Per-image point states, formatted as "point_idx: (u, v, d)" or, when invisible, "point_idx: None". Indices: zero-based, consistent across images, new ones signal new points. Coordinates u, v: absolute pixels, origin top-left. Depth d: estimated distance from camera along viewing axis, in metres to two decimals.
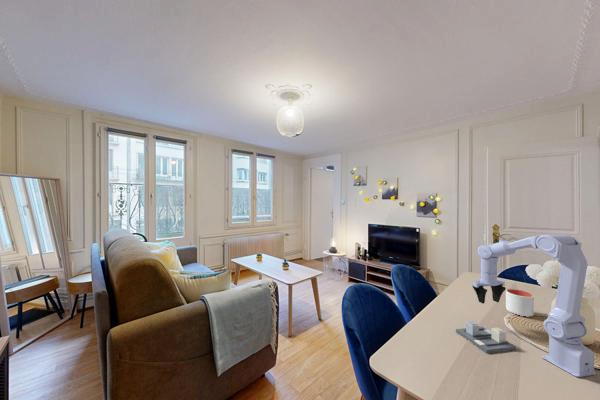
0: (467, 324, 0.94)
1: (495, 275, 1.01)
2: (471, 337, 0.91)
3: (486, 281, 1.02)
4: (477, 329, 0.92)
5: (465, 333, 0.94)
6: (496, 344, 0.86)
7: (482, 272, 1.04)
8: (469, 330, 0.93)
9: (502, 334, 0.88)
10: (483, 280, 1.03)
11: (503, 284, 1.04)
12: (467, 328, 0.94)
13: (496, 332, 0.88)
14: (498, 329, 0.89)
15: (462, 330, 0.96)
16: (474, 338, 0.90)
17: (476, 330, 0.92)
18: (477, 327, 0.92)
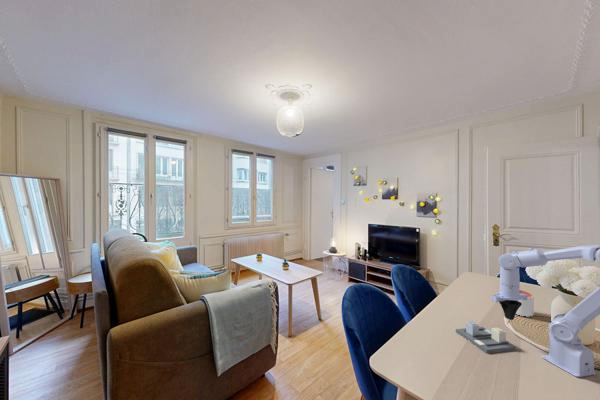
0: (467, 324, 0.94)
1: (517, 288, 0.87)
2: (471, 337, 0.91)
3: (507, 295, 0.88)
4: (477, 329, 0.92)
5: (465, 333, 0.94)
6: (496, 344, 0.86)
7: (502, 284, 0.90)
8: (469, 330, 0.93)
9: (502, 334, 0.88)
10: (503, 293, 0.89)
11: (526, 298, 0.90)
12: (467, 328, 0.94)
13: (496, 332, 0.88)
14: (498, 329, 0.89)
15: (462, 330, 0.96)
16: (474, 338, 0.90)
17: (476, 330, 0.92)
18: (477, 327, 0.92)
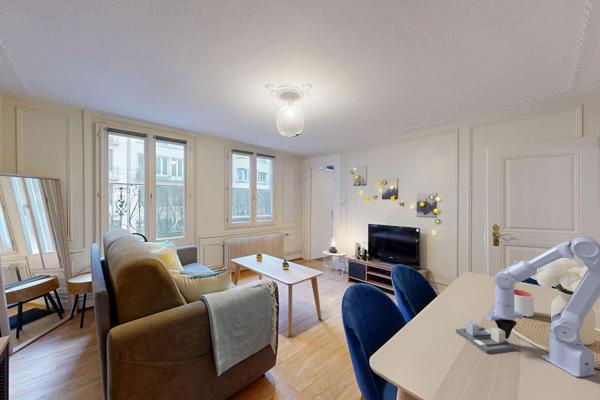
0: (467, 324, 0.94)
1: (512, 307, 0.87)
2: (471, 337, 0.91)
3: (502, 314, 0.88)
4: (477, 329, 0.92)
5: (465, 333, 0.94)
6: (496, 344, 0.86)
7: (497, 303, 0.90)
8: (469, 330, 0.93)
9: (501, 334, 0.88)
10: (498, 312, 0.89)
11: (521, 317, 0.90)
12: (467, 328, 0.94)
13: (495, 332, 0.88)
14: (497, 329, 0.89)
15: (462, 330, 0.96)
16: (474, 338, 0.90)
17: (476, 330, 0.92)
18: (477, 327, 0.92)
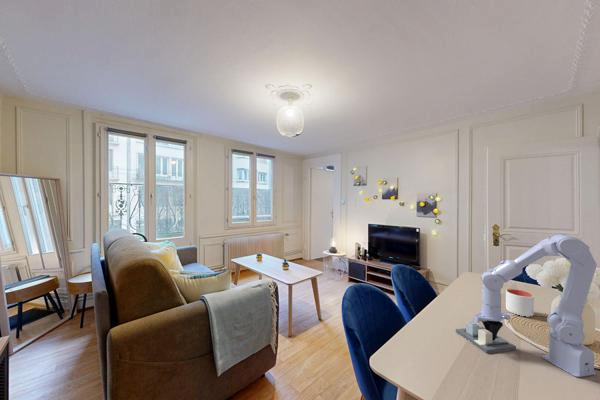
0: (467, 324, 0.94)
1: (499, 309, 0.86)
2: (471, 337, 0.91)
3: (488, 315, 0.87)
4: (477, 329, 0.92)
5: (465, 333, 0.94)
6: (496, 344, 0.86)
7: (484, 304, 0.89)
8: (469, 330, 0.93)
9: (488, 335, 0.87)
10: (485, 313, 0.88)
11: (508, 318, 0.89)
12: (467, 328, 0.94)
13: (482, 333, 0.87)
14: (485, 330, 0.88)
15: (462, 330, 0.96)
16: (474, 338, 0.90)
17: (476, 330, 0.92)
18: (477, 327, 0.92)
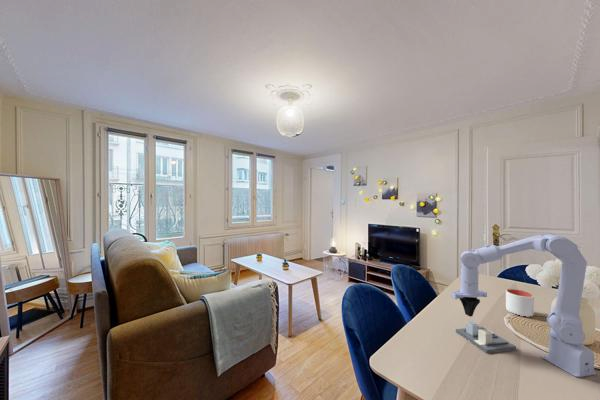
0: (467, 324, 0.94)
1: (476, 285, 0.89)
2: (471, 337, 0.91)
3: (466, 292, 0.90)
4: (477, 329, 0.92)
5: (465, 333, 0.94)
6: (496, 344, 0.86)
7: (462, 282, 0.92)
8: (469, 330, 0.93)
9: (489, 335, 0.87)
10: (463, 291, 0.91)
11: (485, 295, 0.92)
12: (467, 328, 0.94)
13: (483, 333, 0.87)
14: (485, 330, 0.88)
15: (462, 330, 0.96)
16: (474, 338, 0.90)
17: (476, 330, 0.92)
18: (477, 327, 0.92)
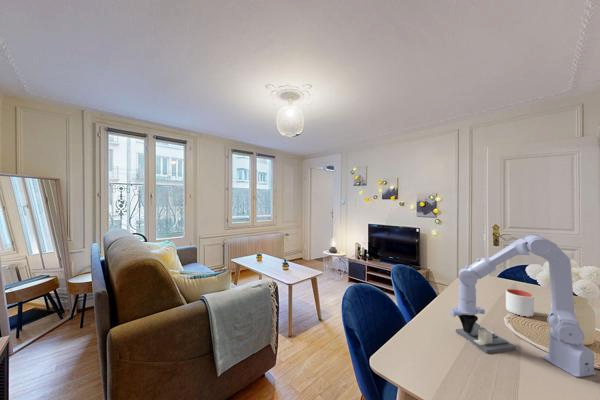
0: None
1: (474, 303, 0.90)
2: (471, 337, 0.91)
3: (464, 309, 0.92)
4: (478, 329, 0.92)
5: (465, 333, 0.94)
6: (496, 344, 0.86)
7: (460, 299, 0.93)
8: None
9: (489, 335, 0.87)
10: (461, 308, 0.93)
11: (483, 312, 0.93)
12: None
13: (483, 333, 0.87)
14: (485, 330, 0.88)
15: (462, 330, 0.96)
16: (474, 338, 0.90)
17: (477, 330, 0.92)
18: (478, 327, 0.92)
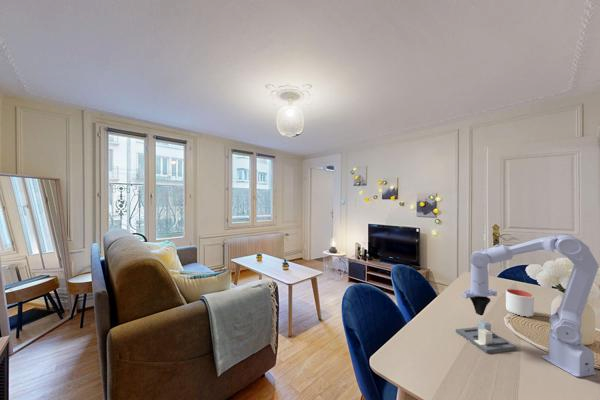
0: (479, 323, 0.95)
1: (486, 285, 0.91)
2: (471, 337, 0.91)
3: (476, 291, 0.92)
4: (489, 328, 0.93)
5: (465, 333, 0.94)
6: (496, 344, 0.86)
7: (472, 281, 0.93)
8: None
9: (489, 335, 0.87)
10: (473, 290, 0.93)
11: (495, 294, 0.94)
12: (479, 327, 0.95)
13: (483, 333, 0.87)
14: (485, 330, 0.88)
15: (462, 330, 0.96)
16: (474, 338, 0.90)
17: (488, 329, 0.93)
18: (489, 326, 0.93)
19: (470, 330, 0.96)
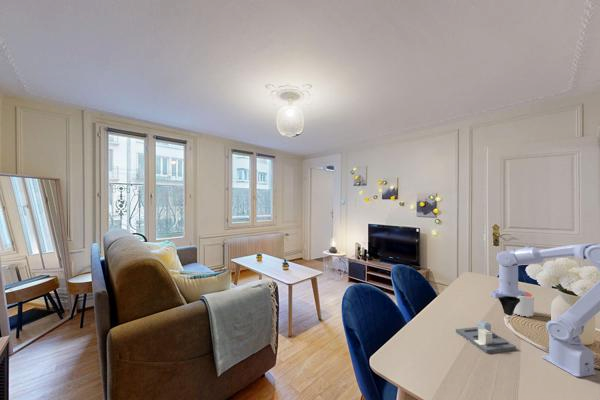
0: (479, 323, 0.95)
1: (516, 285, 0.89)
2: (471, 337, 0.91)
3: (506, 291, 0.91)
4: (489, 328, 0.93)
5: (465, 333, 0.94)
6: (496, 344, 0.86)
7: (501, 281, 0.92)
8: None
9: (489, 335, 0.87)
10: (502, 290, 0.92)
11: (524, 294, 0.92)
12: (479, 327, 0.95)
13: (483, 333, 0.87)
14: (485, 330, 0.88)
15: (462, 330, 0.96)
16: (474, 338, 0.90)
17: (488, 329, 0.93)
18: (489, 326, 0.93)
19: (470, 330, 0.96)
